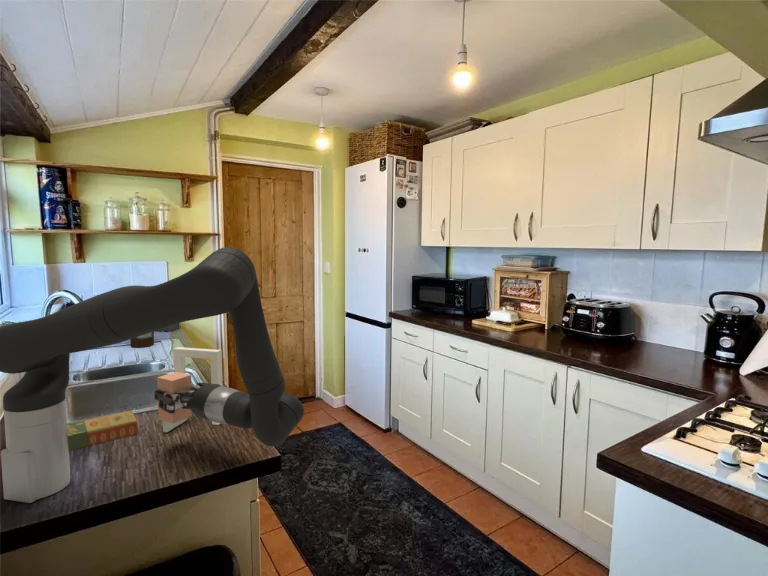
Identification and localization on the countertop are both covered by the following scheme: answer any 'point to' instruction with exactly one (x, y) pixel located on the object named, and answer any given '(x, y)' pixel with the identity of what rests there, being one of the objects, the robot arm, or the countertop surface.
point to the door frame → (200, 353)
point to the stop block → (173, 384)
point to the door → (171, 425)
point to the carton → (101, 429)
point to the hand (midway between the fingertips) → (167, 390)
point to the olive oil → (143, 340)
